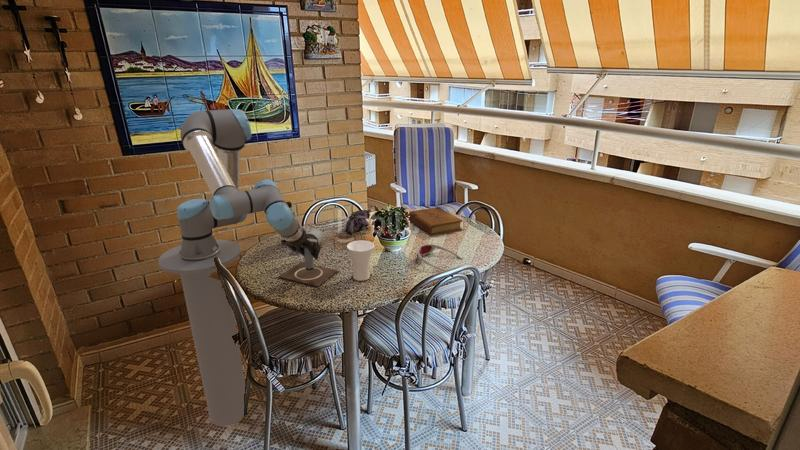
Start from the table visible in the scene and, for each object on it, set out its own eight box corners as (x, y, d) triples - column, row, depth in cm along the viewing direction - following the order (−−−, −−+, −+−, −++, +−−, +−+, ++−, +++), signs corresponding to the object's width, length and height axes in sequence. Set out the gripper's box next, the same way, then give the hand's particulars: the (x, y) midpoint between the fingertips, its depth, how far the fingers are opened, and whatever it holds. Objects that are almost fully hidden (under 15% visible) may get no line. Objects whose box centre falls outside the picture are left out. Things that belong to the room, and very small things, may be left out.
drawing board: (279, 277, 160) (278, 276, 159) (301, 263, 172) (301, 262, 171) (317, 287, 153) (317, 285, 152) (337, 271, 165) (337, 270, 164)
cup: (360, 268, 167) (359, 238, 163) (380, 275, 162) (379, 244, 157) (342, 278, 159) (341, 246, 155) (363, 286, 154) (362, 253, 149)
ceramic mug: (325, 243, 192) (323, 227, 189) (318, 250, 184) (317, 234, 182) (304, 241, 194) (302, 226, 191) (296, 248, 186) (295, 232, 184)
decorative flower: (343, 207, 211) (370, 201, 208) (351, 225, 217) (378, 218, 214) (338, 224, 199) (366, 217, 196) (347, 242, 206) (375, 236, 202)
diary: (408, 221, 220) (408, 211, 218) (438, 216, 228) (438, 206, 226) (430, 236, 201) (430, 225, 199) (461, 230, 209) (462, 219, 207)
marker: (303, 269, 158) (301, 241, 154) (308, 266, 161) (306, 237, 157) (310, 271, 157) (308, 242, 152) (316, 267, 159) (313, 239, 155)
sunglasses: (425, 249, 185) (428, 239, 183) (460, 263, 179) (462, 253, 177) (408, 263, 171) (410, 253, 169) (445, 279, 165) (447, 268, 163)
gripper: (267, 241, 139) (290, 263, 161) (313, 244, 137) (330, 266, 158) (272, 221, 142) (294, 245, 164) (317, 223, 140) (334, 248, 161)
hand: (312, 255), depth 161 cm, fingers closed on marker, 3 cm apart
